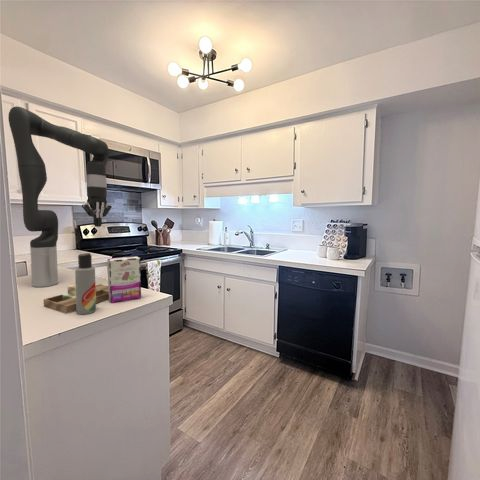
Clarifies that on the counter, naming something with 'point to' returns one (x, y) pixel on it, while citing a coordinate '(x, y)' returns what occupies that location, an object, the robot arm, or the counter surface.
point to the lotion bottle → (85, 285)
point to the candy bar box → (124, 279)
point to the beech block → (72, 289)
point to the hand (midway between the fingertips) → (97, 226)
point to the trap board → (74, 300)
